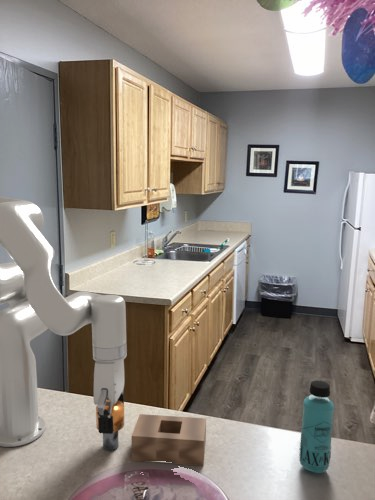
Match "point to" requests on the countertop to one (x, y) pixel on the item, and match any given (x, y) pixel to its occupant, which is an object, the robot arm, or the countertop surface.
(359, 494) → the countertop surface
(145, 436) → the block
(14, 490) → the countertop surface
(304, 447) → the beverage bottle
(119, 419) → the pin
